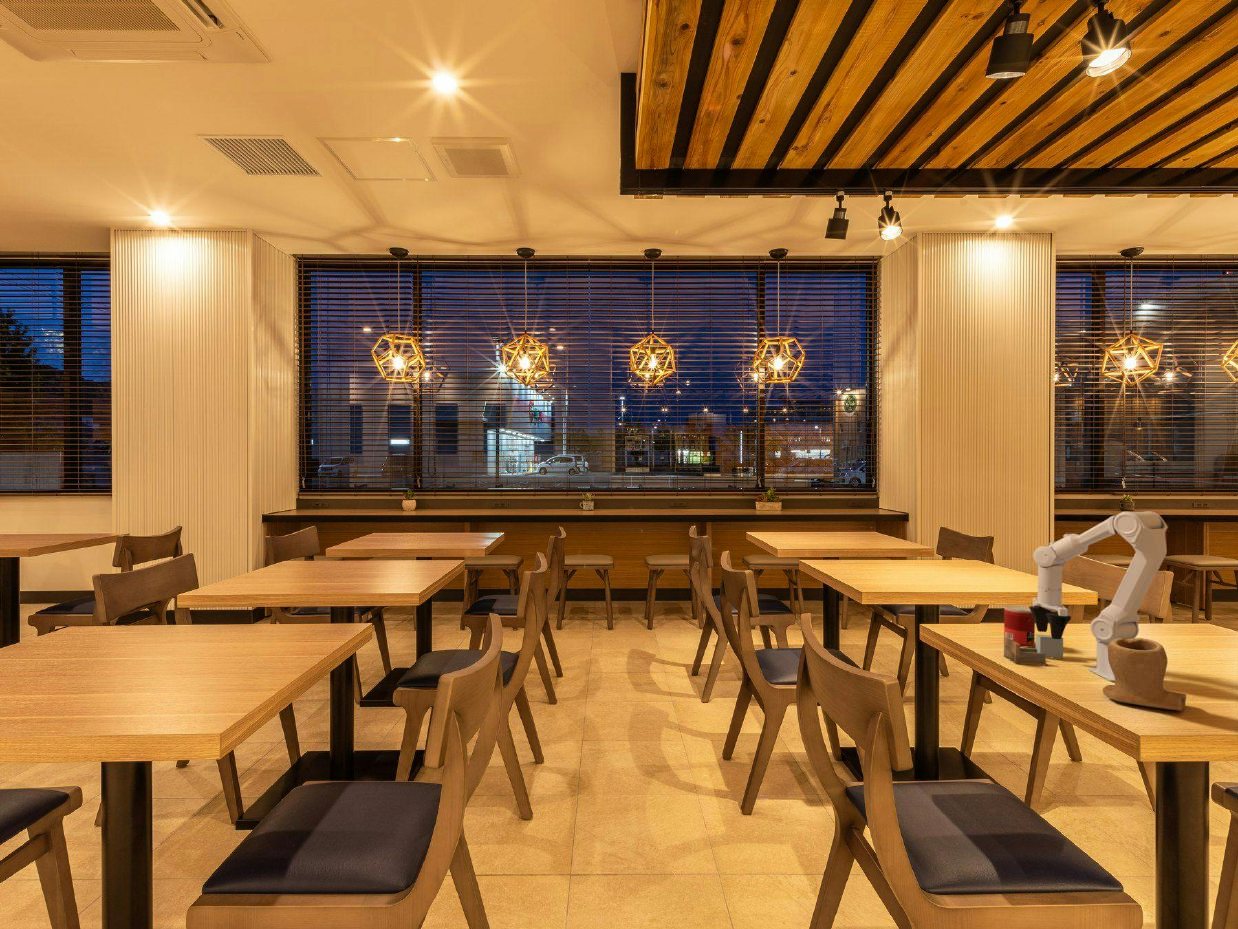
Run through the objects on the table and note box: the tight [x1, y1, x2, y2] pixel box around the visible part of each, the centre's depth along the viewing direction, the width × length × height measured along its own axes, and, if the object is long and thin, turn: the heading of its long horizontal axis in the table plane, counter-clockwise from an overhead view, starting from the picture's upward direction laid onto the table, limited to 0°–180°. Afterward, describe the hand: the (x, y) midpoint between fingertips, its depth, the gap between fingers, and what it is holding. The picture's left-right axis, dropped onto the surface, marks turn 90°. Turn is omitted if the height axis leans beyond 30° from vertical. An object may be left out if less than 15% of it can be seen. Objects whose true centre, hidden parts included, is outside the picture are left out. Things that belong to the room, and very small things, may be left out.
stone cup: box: [1102, 637, 1187, 712], centre depth 140 cm, size 15×12×15 cm
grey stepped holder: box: [1003, 636, 1048, 666], centre depth 172 cm, size 7×8×6 cm
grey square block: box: [1035, 634, 1064, 659], centre depth 176 cm, size 2×6×6 cm, turn 81°
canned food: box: [1003, 605, 1036, 647], centre depth 189 cm, size 8×8×11 cm
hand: (1049, 635), depth 176 cm, fingers open, 7 cm apart
